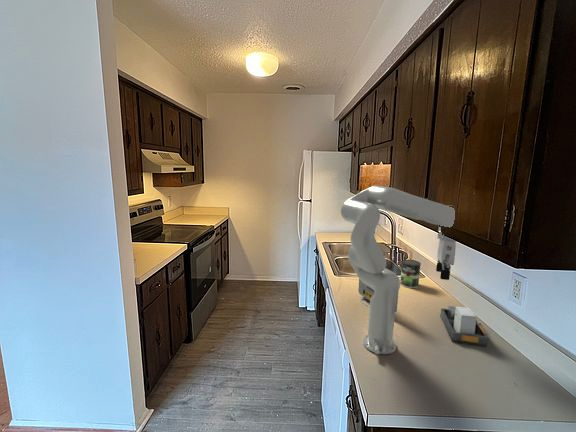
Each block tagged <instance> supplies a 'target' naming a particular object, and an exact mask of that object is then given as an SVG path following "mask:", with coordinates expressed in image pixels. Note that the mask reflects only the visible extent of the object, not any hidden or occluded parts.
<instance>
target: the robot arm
mask: <svg viewBox="0 0 576 432" xmlns="http://www.w3.org/2000/svg"><path fill="white" fill-rule="evenodd" d="M449 206H450V205H447V204H446V205H445V204H443V203H439V202H436V201H433V200H429V199H427V198H424V197H421V196H417V195H414V194H410V193H408V192H405V191H403V190H400V189H397V188H394V187H389V186H383V185H381V186H380V185H373V186H370V187H368V188H366V189H364V190H362V191H360V192H358V193H357V194H355V195H353V196H352V197H350V198H348V199H347V200H346V201H344V203H343V204H342V206H341V208H340V215H341V217H342V218H343V219H344V221H346V222H349V223H351V224H354V226H353V229H352V232H351V235H350V243H351V245H350V247H349V249H348V251H347V252H348V253H347V257H348V261H349V264H350V265H351V267H352V268H353V271H354V272H355V274H356V276H357V277H358V280H359V279H360V280H361V281H362V282H363V283H364V284H366V285H367V286H369V287H370V288H372V289H373V290H374V291H375V293H374V295H373V296H372V298H371V300H370V301H369V304H370V308H368V325H367V326H368V328H367V335H365V336H364V337H363V340H362V344H363V346H364V348H366V349H367V350H369V351H371V352H372V353H374V354H376V355H391V354H394V353H395V352H396V351H397V343H396V341H395V340H394V339H393V338H394V327H395V317H396V316H395V315H396V314H395V306H396V299H397V295H398V296H399V292H398V291H400V287H401V284H400V280H401V278H400V277H399V276H398V274H396V273H395V272H394V271H393V270H391V269H388V268H386V266H387V261H386V257H385V256H384V253H383V252H382V249H381V248H380V246H379V243H378V242H377V239H376V236H375V232H376V229H377V226H378V224H379V222H380V219H381V213H380V210H383V211H386V212H389V213H393V214H396V215H399V216H403V217H405V218H409V219H413V220H418V221H419V220H420V221H424V222H426V223H429V224H432V225H436V226H437V225H438V230H437V239H439V242H438V246H437V247H438V248H437V261H436V269H435V271H436V272H438V273H440V276H439V277H440V280H444V281H445V280H446V281H450V277H451V276H450V275H451V271H452V270H451V268H452V267H451V266H454V265H455V259H456V258H455V257H456V244H457V243H456V242H457V241H455V240H452V239H450V238H448V237H446V236H444V234H443V235H442V232H441V227H439V225H440V226H444V227H449V228H450V227H452V226H453V224H454V220H455V210H454V208H452V207H449ZM438 232H439V233H438Z"/></svg>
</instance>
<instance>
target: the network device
mask: <svg viewBox="0 0 576 432" xmlns="http://www.w3.org/2000/svg"><path fill="white" fill-rule="evenodd" d="M357 291H358V293H359V294H360V295H361V297H360V298H359V301H360V303H361V302H362V303H361V304H363V305H364V304H365V305H364V306H365V307H367V308H368V307H369V308H368V309H370V303H369V304H368V303H367V302H365V301H364V300H367V301H369V302H370V300H371V298H372V296H373V295H374V293H375V291H374V290H373V289H372V288H370V287H369V286H367V285H366V284H364V283H363V282H362V281H361V280H360V279H359V278H358V290H357ZM399 291H400V290H399ZM399 291H398V293H399ZM398 302H399V294H398V295H397V299H396V306H395V313H397V312H398Z"/></svg>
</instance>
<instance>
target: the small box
mask: <svg viewBox="0 0 576 432" xmlns="http://www.w3.org/2000/svg"><path fill="white" fill-rule="evenodd" d="M455 307H456V309H455V318H454V327H453V329H454V330H455V332H458V333H465V334H472V335H474V333H475V325H476V320H477V316H476V314H475V312H474V311H472V309H471V308H470V307H465V306H455Z"/></svg>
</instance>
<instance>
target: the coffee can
mask: <svg viewBox="0 0 576 432" xmlns="http://www.w3.org/2000/svg"><path fill="white" fill-rule="evenodd" d="M421 266H422V263H421V262H420V261H419V260H418V261H417V260H416V259H401V272H400V286H402V287H404V288H408V289H416V288H419V284H420V283H419V281H420V274H421Z"/></svg>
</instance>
